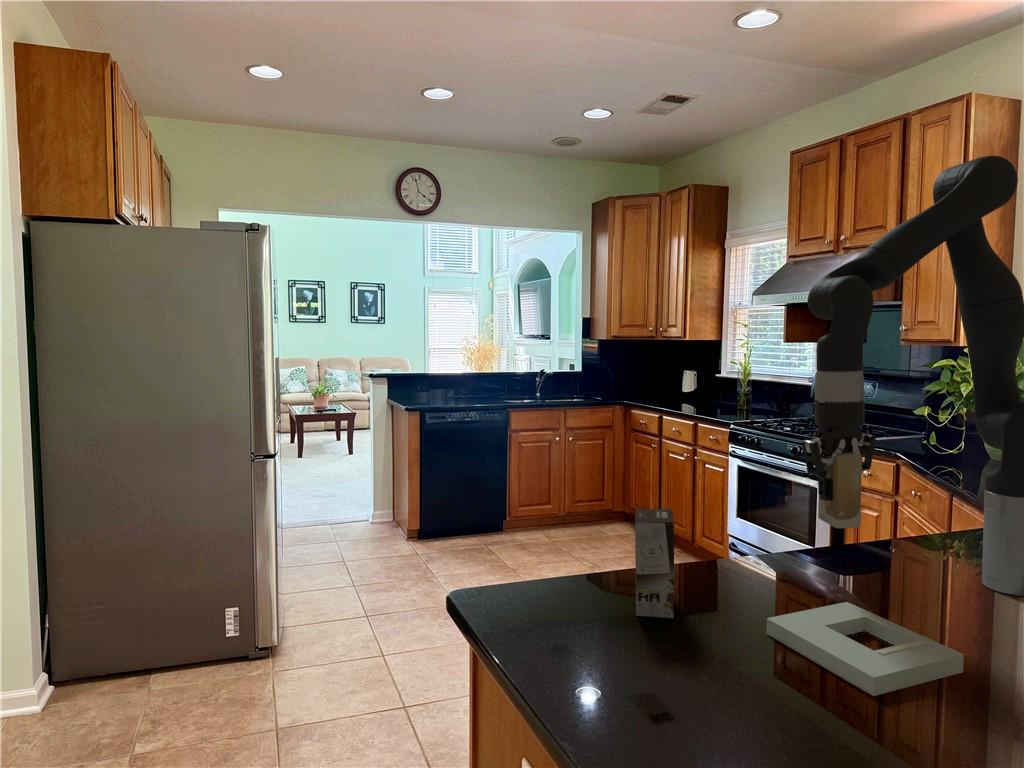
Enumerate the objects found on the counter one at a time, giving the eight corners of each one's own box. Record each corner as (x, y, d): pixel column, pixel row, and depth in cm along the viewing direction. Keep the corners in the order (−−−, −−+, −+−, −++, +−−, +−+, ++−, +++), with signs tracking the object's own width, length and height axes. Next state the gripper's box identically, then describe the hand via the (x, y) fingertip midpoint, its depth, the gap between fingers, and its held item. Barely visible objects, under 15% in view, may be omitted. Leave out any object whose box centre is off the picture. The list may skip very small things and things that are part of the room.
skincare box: (817, 519, 122) (816, 449, 121) (841, 517, 122) (841, 448, 121) (837, 529, 115) (837, 456, 114) (862, 527, 116) (862, 454, 115)
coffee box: (675, 619, 115) (674, 522, 114) (635, 616, 116) (634, 521, 115) (673, 597, 124) (673, 508, 123) (636, 595, 125) (635, 507, 124)
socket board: (846, 616, 114) (847, 600, 114) (963, 672, 95) (963, 653, 95) (766, 633, 109) (766, 617, 108) (873, 696, 90) (873, 675, 90)
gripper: (854, 393, 123) (854, 488, 124) (788, 398, 118) (789, 498, 119) (890, 396, 116) (890, 497, 117) (822, 402, 111) (822, 508, 112)
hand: (839, 497), depth 118 cm, fingers closed on skincare box, 5 cm apart
